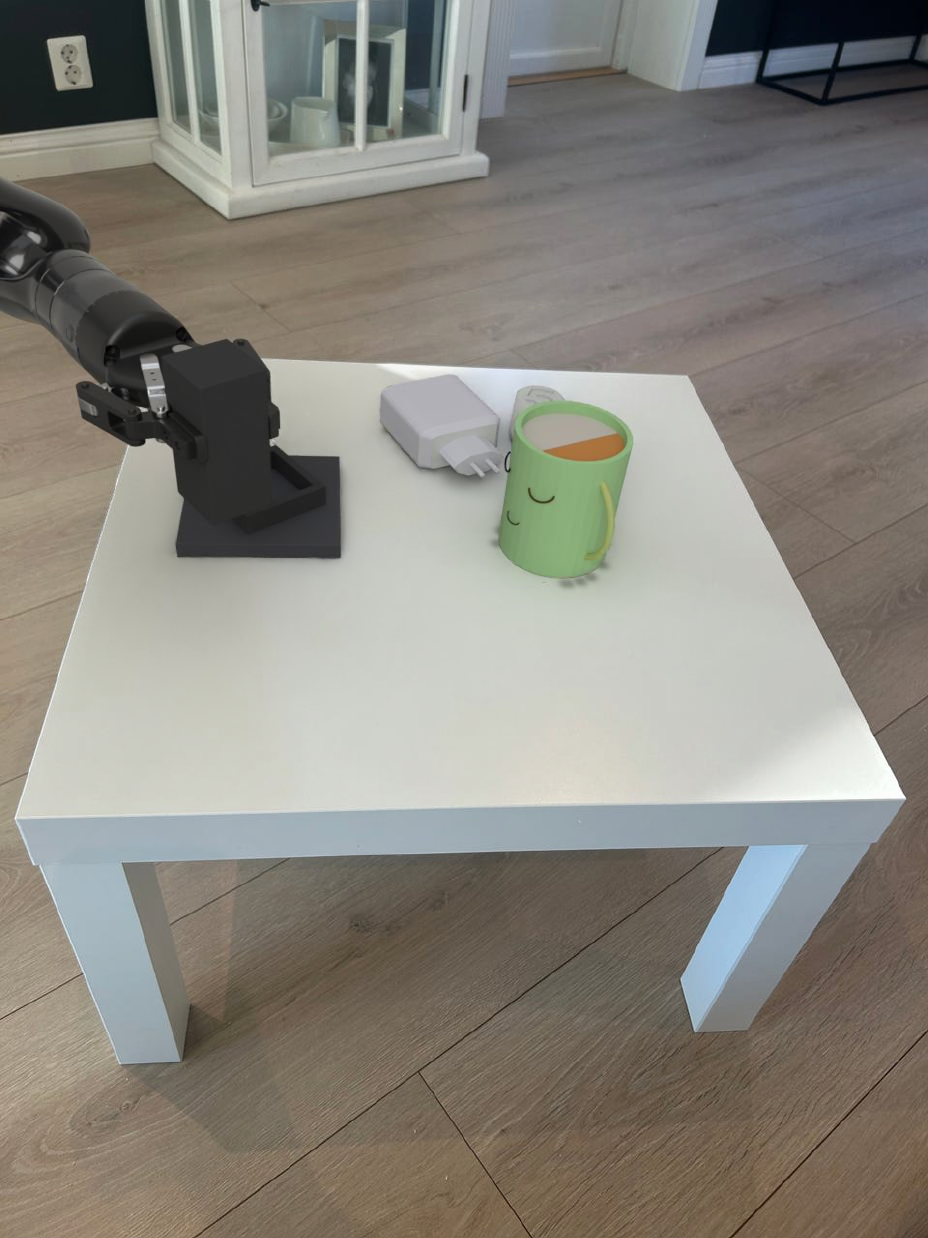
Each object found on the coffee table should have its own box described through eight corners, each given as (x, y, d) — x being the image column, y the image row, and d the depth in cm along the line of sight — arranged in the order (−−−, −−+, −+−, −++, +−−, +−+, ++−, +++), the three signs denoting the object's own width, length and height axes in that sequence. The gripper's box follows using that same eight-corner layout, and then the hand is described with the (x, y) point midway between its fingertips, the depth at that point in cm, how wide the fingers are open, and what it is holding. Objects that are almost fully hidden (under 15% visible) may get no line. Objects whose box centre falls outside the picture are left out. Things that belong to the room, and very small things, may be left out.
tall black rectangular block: (212, 526, 69) (199, 388, 61) (177, 492, 71) (160, 355, 64) (272, 503, 71) (267, 368, 64) (236, 471, 74) (227, 337, 66)
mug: (475, 525, 91) (489, 413, 83) (567, 501, 95) (589, 392, 87) (546, 608, 83) (569, 493, 75) (643, 578, 87) (675, 466, 79)
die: (559, 430, 105) (566, 389, 101) (553, 455, 101) (561, 413, 97) (514, 422, 105) (520, 381, 102) (506, 446, 101) (512, 404, 98)
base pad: (177, 557, 83) (172, 524, 81) (193, 465, 93) (190, 434, 91) (340, 558, 85) (340, 526, 83) (339, 468, 95) (339, 438, 93)
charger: (446, 505, 93) (379, 426, 102) (527, 484, 96) (455, 410, 106) (450, 463, 89) (380, 386, 99) (534, 444, 93) (459, 371, 102)
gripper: (208, 357, 81) (326, 454, 72) (38, 405, 73) (148, 519, 64) (200, 270, 75) (326, 362, 67) (17, 311, 68) (133, 421, 59)
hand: (238, 438), depth 66 cm, fingers closed on tall black rectangular block, 5 cm apart
